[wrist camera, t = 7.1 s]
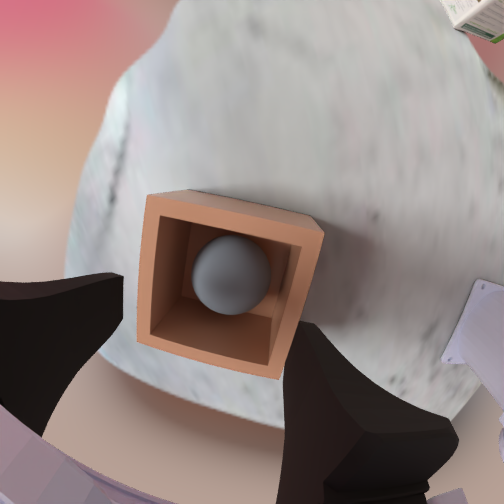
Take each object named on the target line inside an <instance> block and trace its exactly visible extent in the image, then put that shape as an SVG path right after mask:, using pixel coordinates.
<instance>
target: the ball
mask: <svg viewBox="0 0 504 504" xmlns="http://www.w3.org/2000/svg"><path fill="white" fill-rule="evenodd" d="M191 281H192V285H193V288H194V291H195V293H196V295H197V296H198V298H199V299H200V300H201V302H202V303H203V304H204V305H206V306H207V307H208V308H210V309H211V310H213V311H215V312H218V313H221V314H226V315H237V314H242V313H245V312H247V311H249V310H251V309H253V308H254V307H256V306H257V305H258V304H259V303H260V302H261V301H262V300H263V299H264V297H265V296H266V294H267V292H268V289H269V286H270V282H271V268H270V264H269V261H268V258H267V256H266V255H265V253H264V251H263V250H262V249H261V248H260V247H259V246H258V245H257V244H256V243H254V242H253V241H251V240H250V239H248V238H245V237H242V236H238V235H224V236H220V237H217V238H214V239H212V240H211V241H209V242H208V243H206V244H205V245H204V246H203V247H202V248H201V249H200V250H199V252H198V253H197V255H196V257H195V259H194V261H193V264H192V269H191Z"/></svg>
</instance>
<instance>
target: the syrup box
mask: <svg viewBox="0 0 504 504" xmlns="http://www.w3.org/2000/svg"><path fill="white" fill-rule="evenodd" d="M440 1H441V3H442V5H443V7H444V9H445V11H446V13H447V15H448V17H449V19H450V21H451V23H452V25H453V27H454V28H455V29H457V30H462V31H465V32H467V33H470V34H472V35H475V36H478V37H480V38H483V39H485V40H488V41H490V42H492V43H497V42H499V41H501V40H503V39H504V0H440Z"/></svg>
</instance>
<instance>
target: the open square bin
mask: <svg viewBox="0 0 504 504" xmlns="http://www.w3.org/2000/svg"><path fill="white" fill-rule="evenodd" d="M324 234H325V233H324V231H323V230H322V229H321V228H320V227H319V226H318V224H317V223H316V222H315V221H314V220H313V219H312V217H311V216H310V215H305V214H301V213H297V212H293V211H289V210H284V209H280V208H276V207H271V206H267V205H262V204H258V203H253V202H248V201H244V200H239V199H234V198H229V197H224V196H219V195H214V194H209V193H204V192H199V191H193V190H180V191H172V192H164V193H157V194H150V195H147V199H146V206H145V213H144V222H143V230H142V240H141V251H140V263H139V277H138V298H137V342H139V343H142V344H145V345H148V346H150V347H153V348H156V349H159V350H163V351H166V352H169V353H172V354H175V355H178V356H182V357H185V358H189V359H192V360H195V361H199V362H203V363H206V364H210V365H214V366H218V367H222V368H226V369H230V370H234V371H238V372H243V373H247V374H252V375H257V376H262V377H267V378H272V379H277V380H279V378H280V376H281V373H282V370H283V367H284V364H285V361H286V358H287V355H288V352H289V349H290V346H291V343H292V340H293V337H294V334H295V331H296V328H297V325H298V322H299V320H300V317H301V314H302V311H303V307H304V304H305V301H306V298H307V294H308V291H309V288H310V284H311V281H312V277H313V274H314V271H315V267H316V263H317V260H318V256H319V253H320V249H321V245H322V241H323V238H324ZM224 235H238V236H242V237H245V238H248V239H250V240H251V241H253V242H254V243H256V244H257V245H258V246H259V247H260V248H261V249H262V250H263V251H264V253H265V255H266V256H267V258H268V261H269V264H270V268H271V282H270V286H269V289H268V292H267V294H266V296H265V297H264V299H263V300H262V301H261V302H260V303H259V304H258V305H257V306H256V307H254V308H253V309H251V310H249V311H247V312H245V313H242V314H237V315H226V314H221V313H218V312H215V311H213V310H211V309H210V308H208V307H207V306H206V305H204V304H203V303H202V302H201V300H200V299H199V298H198V296H197V295H196V293H195V291H194V288H193V285H192V281H191V269H192V264H193V261H194V259H195V257H196V255H197V253H198V252H199V250H200V249H201V248H202V247H203V246H204V245H205V244H206V243H208V242H209V241H211V240H212V239H214V238H217V237H220V236H224Z"/></svg>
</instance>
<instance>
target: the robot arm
mask: <svg viewBox="0 0 504 504" xmlns="http://www.w3.org/2000/svg"><path fill="white" fill-rule="evenodd" d="M123 280H124V276H121V275H118V274H115V273H98V274H91V275H85V276H80V277H74V278H68V279H61V280H54V281H47V282H31V283H18V282H1V281H0V504H177V503H173V502H170V501H167V500H164V499H160V498H158V497H155V496H152V495H149V494H147V493H144V492H141V491H139V490H136V489H134V488H131V487H129V486H127V485H124V484H122V483H120V482H118V481H115V480H113V479H111V478H109V477H107V476H105V475H103V474H101V473H99V472H97V471H95V470H93V469H91V468H89V467H87V466H85V465H84V464H82V463H80V462H78V461H76V460H75V459H73V458H71V457H70V456H68V455H67V454H65V453H63V452H62V451H60V450H59V449H57V448H55V447H54V446H52V445H51V444H49V443H48V442H46V441H45V440H44V439H42V435H43V432H44V430H45V428H46V425H47V423H48V421H49V419H50V417H51V415H52V413H53V411H54V409H55V407H56V405H57V403H58V402H59V400H60V398H61V396H62V395H63V393H64V391H65V390H66V388H67V387H68V385H69V384H70V382H71V381H72V379H73V378H74V376H75V375H76V374H77V372H78V371H79V370H80V368H82V366H83V365H84V364H85V363H86V362H87V361H88V360H89V359H90V358H91V356H93V354H95V352H96V351H97V350H98V349H99V348H100V347H101V346H102V345H103V344H104V343H105V342H106V341H107V340H108V339H109V338H110V336H111V335H112V334H113V333H114V331H115V330H116V329H117V327H118V326H119V324H120V323H121V321H122V319H123ZM482 285H483V286H482ZM441 361H442V363H447V364H467V365H468V366H469V367H470V368H471V370H472V371H473V372H474V373H475V375H476V376H477V377H478V378H479V380H480V381H481V382H482V383H483V385H484V386H485V387H486V389H487V390H488V391H489V392H490V394H491V395H492V396H493V398H494V399H495V401H496V402H497V403H498V405H499V406H500V407H501V409H502V410H503V414H502V415H501V416H500V418H499V421H500V422H501V424H502V425H503V429H502V430H501V432H500V435H499V451H500V455H501V458H502V460H503V463H504V286H502V285H498V284H495V283H492V282H489V281H486V280H483V279H477V280H476V281H475V283H474V286H473V288H472V291H471V294H470V296H469V299H468V301H467V304H466V306H465V308H464V311H463V313H462V315H461V318H460V320H459V322H458V324H457V326H456V329H455V331H454V333H453V335H452V337H451V339H450V341H449V343H448V345H447V347H446V349H445V351H444V353H443V354H442V356H441ZM283 399H284V421H285V440H284V450H283V460H282V468H281V475H280V482H279V489H278V495H277V501H276V504H468V503H467V500H466V497H465V494H464V492H463V489H462V488H458V489H455V490H452V491H449V492H446V493H443V494H440V495H437V496H434V497H432V498H430V499H428V500H427V501H426V497H425V494H424V493H425V492H427V491H428V490H429V488H430V487H429V484H428V481H427V480H428V479H429V478H430V477H431V476H432V475H433V474H434V473H436V472H437V471H438V470H439V469H440V468H441V467H442V466H443V465H444V464H445V463H446V462H447V461H448V460H449V459H450V457H451V456H452V455H453V454H454V452H455V450H456V449H457V446H458V442H459V438H458V436H457V434H456V432H455V430H454V428H453V426H452V424H451V422H450V420H449V419H448V418H446V417H443V416H440V415H437V414H434V413H431V412H428V411H425V410H423V409H420V408H418V407H416V406H414V405H411V404H409V403H407V402H405V401H403V400H401V399H399V398H398V397H396V396H394V395H392V394H391V393H389V392H388V391H386V390H384V389H383V388H381V387H380V386H378V385H377V384H375V383H374V382H373V381H371V380H370V379H369V378H367V377H366V376H365V375H364V374H362V373H361V372H360V371H359V370H358V369H356V368H355V367H354V366H353V365H352V364H351V363H350V362H349V361H348V360H347V359H346V358H345V357H344V356H343V355H342V354H341V353H340V352H339V351H338V350H337V349H336V348H335V346H334V345H333V344H332V343H331V342H330V341H329V340H328V338H327V337H326V336H325V335H324V334H323V333H322V331H321V330H320V329H319V328H318V327H317V326H316V325H315V324H313V323H307V322H302V321H299V322H298V325H297V328H296V331H295V334H294V337H293V340H292V343H291V346H290V349H289V352H288V355H287V358H286V361H285V366H284V376H283Z"/></svg>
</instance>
